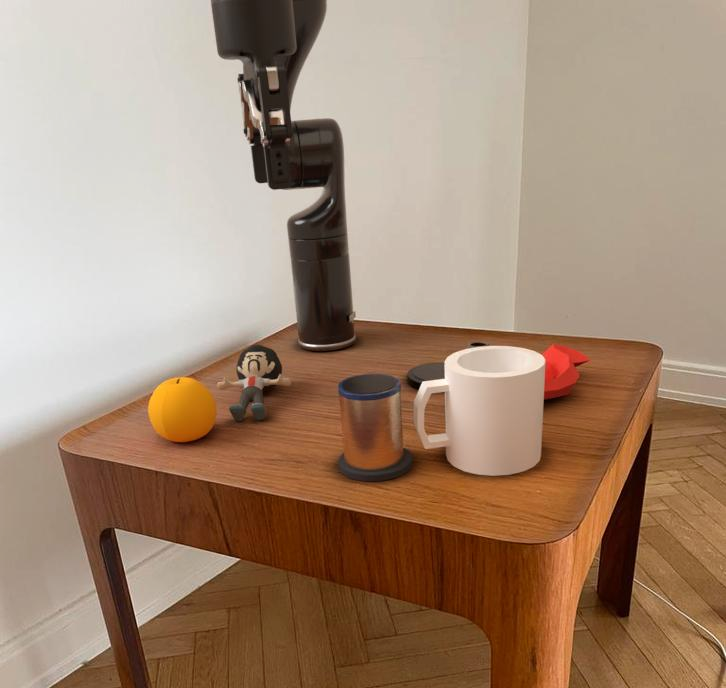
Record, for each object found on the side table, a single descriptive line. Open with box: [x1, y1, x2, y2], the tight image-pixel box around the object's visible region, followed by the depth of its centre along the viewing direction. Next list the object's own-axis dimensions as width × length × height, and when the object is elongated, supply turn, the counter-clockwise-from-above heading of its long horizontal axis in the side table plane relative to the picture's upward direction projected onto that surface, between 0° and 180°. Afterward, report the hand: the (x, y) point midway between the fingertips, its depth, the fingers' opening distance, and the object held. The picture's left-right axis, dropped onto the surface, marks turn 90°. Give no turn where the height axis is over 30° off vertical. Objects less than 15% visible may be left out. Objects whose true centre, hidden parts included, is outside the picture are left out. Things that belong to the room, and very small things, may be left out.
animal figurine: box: [541, 343, 592, 400], centre depth 97 cm, size 12×15×5 cm
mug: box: [412, 345, 545, 477], centre depth 79 cm, size 14×10×11 cm
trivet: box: [337, 447, 413, 482], centre depth 81 cm, size 8×8×1 cm
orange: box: [147, 376, 218, 443], centre depth 90 cm, size 8×8×8 cm
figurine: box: [216, 344, 292, 423], centre depth 100 cm, size 10×7×15 cm
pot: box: [337, 373, 404, 471], centre depth 79 cm, size 6×6×8 cm
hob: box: [406, 361, 445, 391], centre depth 103 cm, size 9×9×1 cm
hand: (272, 185), depth 76 cm, fingers open, 8 cm apart
